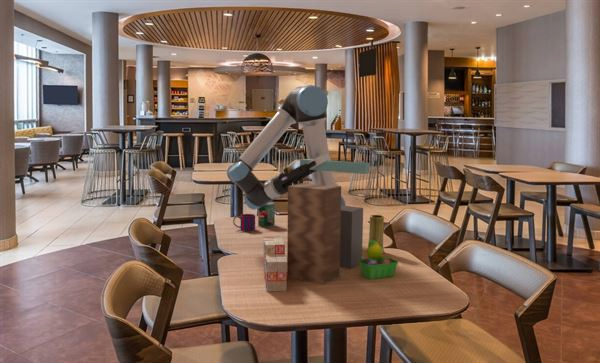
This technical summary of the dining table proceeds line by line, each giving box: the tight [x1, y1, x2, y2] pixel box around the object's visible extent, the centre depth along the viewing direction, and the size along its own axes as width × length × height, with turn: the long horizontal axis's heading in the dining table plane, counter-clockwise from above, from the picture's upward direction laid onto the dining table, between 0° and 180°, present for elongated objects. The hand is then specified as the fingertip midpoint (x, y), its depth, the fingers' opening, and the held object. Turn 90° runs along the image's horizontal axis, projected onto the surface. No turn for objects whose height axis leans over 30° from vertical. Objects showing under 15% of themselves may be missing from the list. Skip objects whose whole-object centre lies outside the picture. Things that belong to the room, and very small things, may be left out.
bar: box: [299, 158, 371, 175], centre depth 190 cm, size 26×4×4 cm, turn 59°
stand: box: [286, 182, 342, 285], centre depth 174 cm, size 14×10×30 cm
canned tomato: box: [257, 201, 276, 228], centre depth 255 cm, size 8×8×11 cm
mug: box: [232, 213, 256, 232], centre depth 246 cm, size 7×10×7 cm
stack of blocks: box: [263, 236, 288, 292], centre depth 171 cm, size 21×6×12 cm, turn 6°
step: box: [340, 205, 364, 269], centre depth 191 cm, size 12×9×20 cm
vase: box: [368, 214, 385, 254], centre depth 207 cm, size 6×6×14 cm
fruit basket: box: [359, 240, 399, 280], centre depth 178 cm, size 11×9×11 cm
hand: (326, 158), depth 191 cm, fingers closed on bar, 3 cm apart
